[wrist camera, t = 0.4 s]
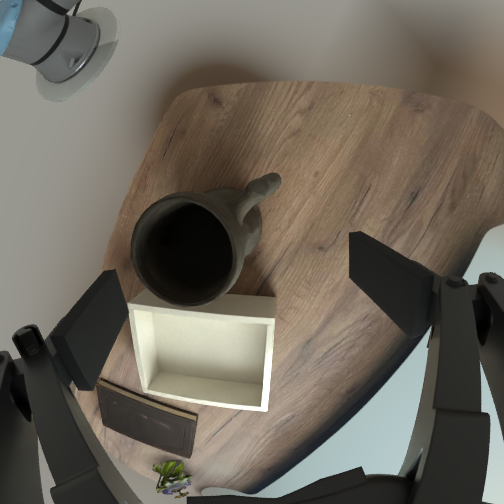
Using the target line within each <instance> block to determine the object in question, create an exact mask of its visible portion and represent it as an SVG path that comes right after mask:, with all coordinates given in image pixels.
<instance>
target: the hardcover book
mask: <svg viewBox="0 0 504 504" xmlns="http://www.w3.org/2000/svg"><path fill="white" fill-rule="evenodd" d="M100 380H101V381H100V382H99V383H96V386H97V393H98V399H99V406H100V411H101V417H102V422H103V425H104V426H106V427H108V428H110V429H112V430H114V431H116V432H119V433H121V434H123V435H125V436H128V437H130V438H132V439H135V440H137V441H140V442H142V443H145V444H147V445H150V446H153V447H155V448H158V449H161V450H164V451H167V452H170V453H173V454H176V455H179V456H182V457H185V458H188V459H190V457H191V455H192V450H193V444H194V438H195V432H196V426H197V420H198V414H195V413H191V412H188V411H185V410H182V409H178V408H175V407H172V406H169V405H167V404H164V403H161V402H158V401H155V400H153V399H150V398H147V397H145V396H142V395H139V394H137V393H134V392H132V391H129V390H127V389H125V388H122V387H120V386H118V385H115V384H113V383H111V382H109V381H106V380H104V379H102V378H100Z"/></svg>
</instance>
